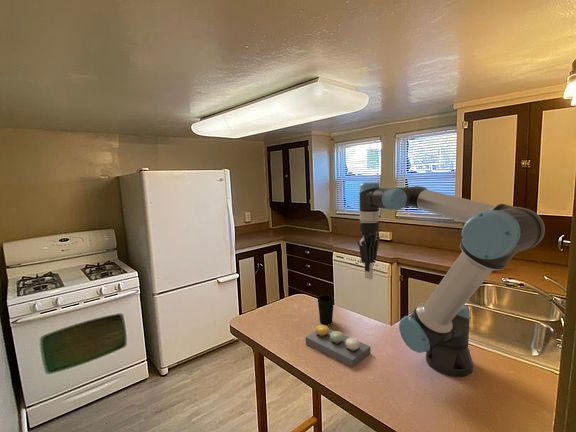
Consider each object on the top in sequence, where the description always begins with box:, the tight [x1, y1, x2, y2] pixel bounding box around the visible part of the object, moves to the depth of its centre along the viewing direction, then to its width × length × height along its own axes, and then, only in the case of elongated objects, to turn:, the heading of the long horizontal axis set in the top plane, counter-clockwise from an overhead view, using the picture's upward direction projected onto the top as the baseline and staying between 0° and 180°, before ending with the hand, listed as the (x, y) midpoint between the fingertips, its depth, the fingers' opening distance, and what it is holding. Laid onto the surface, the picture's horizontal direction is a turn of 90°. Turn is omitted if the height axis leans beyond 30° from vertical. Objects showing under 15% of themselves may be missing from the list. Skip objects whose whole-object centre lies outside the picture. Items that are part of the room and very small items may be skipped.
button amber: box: [315, 324, 330, 338], centre depth 128 cm, size 5×5×4 cm
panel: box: [305, 328, 372, 368], centre depth 123 cm, size 23×12×3 cm, turn 44°
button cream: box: [346, 337, 361, 353], centre depth 117 cm, size 5×5×4 cm
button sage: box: [330, 330, 344, 345], centre depth 122 cm, size 5×5×4 cm
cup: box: [317, 294, 335, 326], centre depth 144 cm, size 8×8×12 cm
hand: (368, 278), depth 126 cm, fingers closed
